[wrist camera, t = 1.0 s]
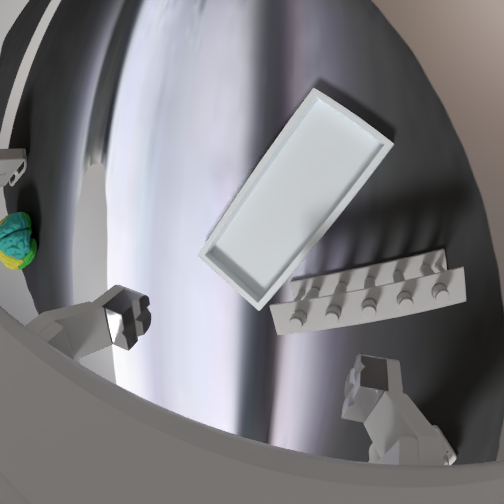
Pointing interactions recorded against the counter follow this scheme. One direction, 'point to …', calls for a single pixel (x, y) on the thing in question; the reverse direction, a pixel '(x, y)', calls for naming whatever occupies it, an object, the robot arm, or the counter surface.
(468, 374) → the counter surface
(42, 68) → the counter surface
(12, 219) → the brain model
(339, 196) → the tray
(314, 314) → the test tube rack
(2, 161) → the network device
